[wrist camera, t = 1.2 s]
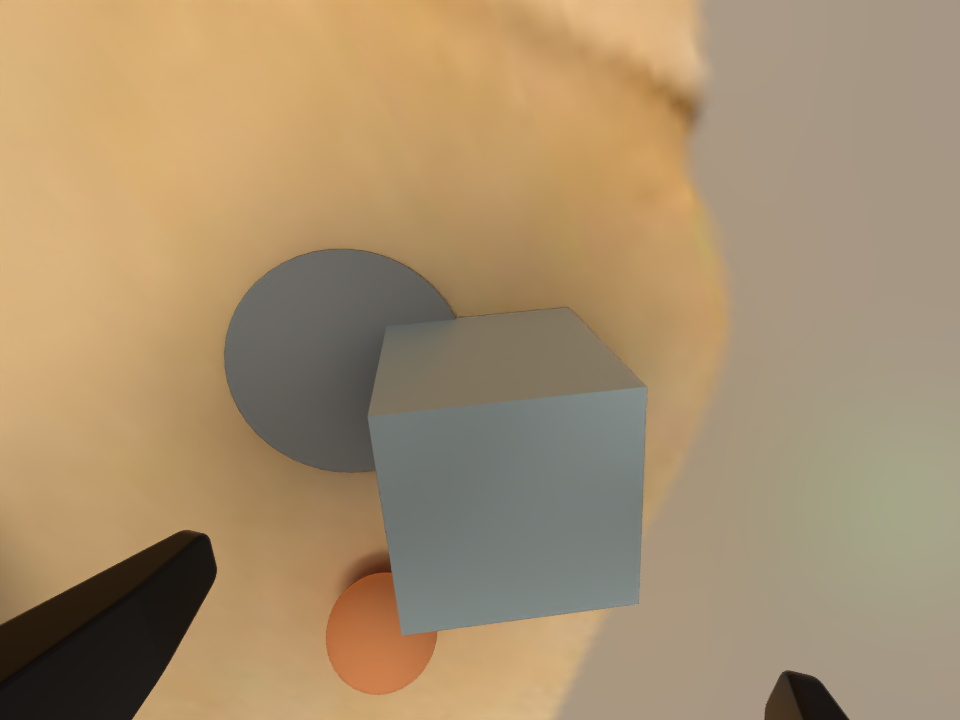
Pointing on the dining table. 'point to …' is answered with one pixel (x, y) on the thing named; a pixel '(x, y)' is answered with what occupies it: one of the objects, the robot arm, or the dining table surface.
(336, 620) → the ball
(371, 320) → the circle
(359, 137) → the dining table surface
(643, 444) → the gray-blue matte cube
